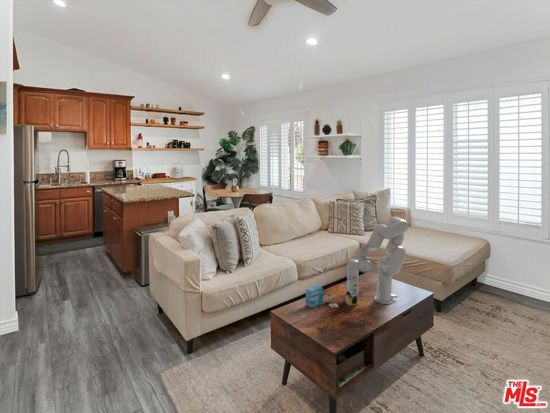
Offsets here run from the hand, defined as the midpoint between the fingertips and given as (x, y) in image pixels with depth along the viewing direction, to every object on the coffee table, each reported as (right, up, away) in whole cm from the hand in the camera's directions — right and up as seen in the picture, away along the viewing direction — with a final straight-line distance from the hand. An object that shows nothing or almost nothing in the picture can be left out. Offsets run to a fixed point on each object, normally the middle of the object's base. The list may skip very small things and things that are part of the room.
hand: (351, 300), depth 233 cm
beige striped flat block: (-13, -3, -4) cm, 14 cm away
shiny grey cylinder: (-15, -2, +2) cm, 15 cm away
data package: (-26, -3, -2) cm, 26 cm away
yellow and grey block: (0, -2, 0) cm, 2 cm away
